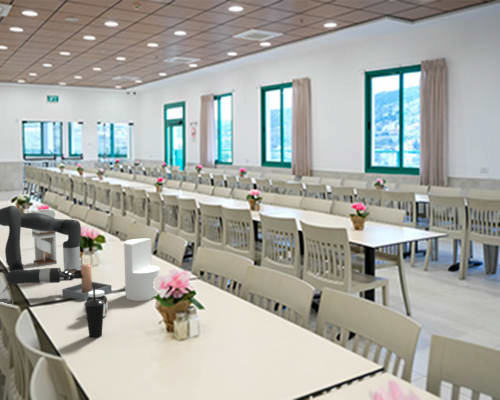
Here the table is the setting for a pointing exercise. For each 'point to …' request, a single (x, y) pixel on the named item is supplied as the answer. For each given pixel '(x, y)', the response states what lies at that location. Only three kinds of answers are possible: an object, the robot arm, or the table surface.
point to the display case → (44, 243)
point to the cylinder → (139, 270)
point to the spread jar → (98, 295)
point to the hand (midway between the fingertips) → (83, 274)
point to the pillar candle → (86, 278)
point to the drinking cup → (94, 316)
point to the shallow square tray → (77, 293)
